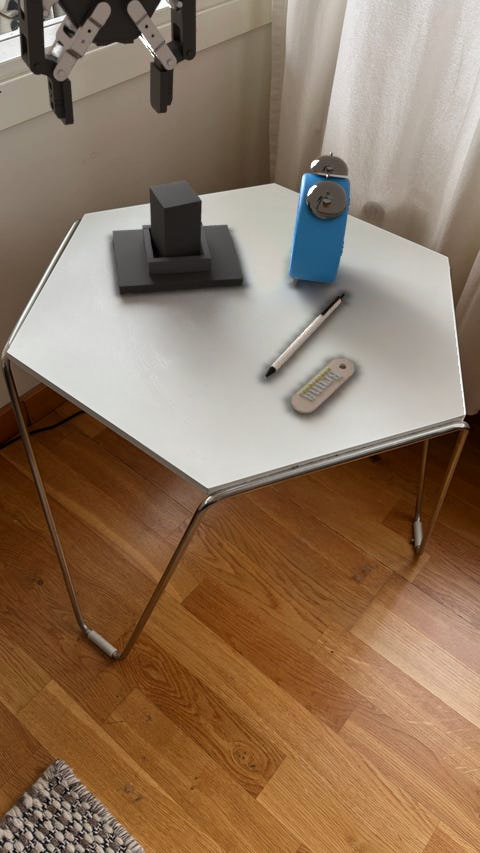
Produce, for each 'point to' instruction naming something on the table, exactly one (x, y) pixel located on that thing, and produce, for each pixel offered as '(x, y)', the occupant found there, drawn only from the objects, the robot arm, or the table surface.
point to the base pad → (175, 262)
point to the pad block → (175, 220)
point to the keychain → (322, 386)
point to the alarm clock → (320, 221)
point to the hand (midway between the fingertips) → (113, 115)
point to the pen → (304, 336)
